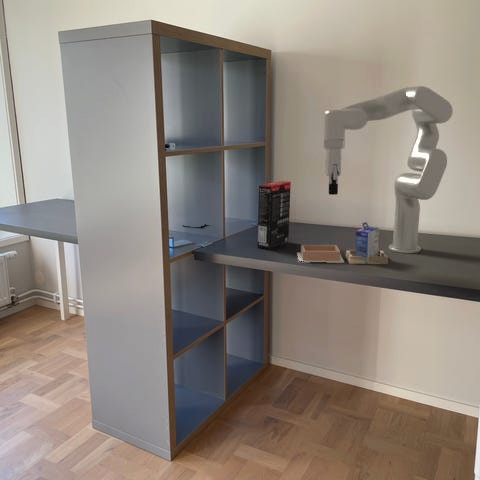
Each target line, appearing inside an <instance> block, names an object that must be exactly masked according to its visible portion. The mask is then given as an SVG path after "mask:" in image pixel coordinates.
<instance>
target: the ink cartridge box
mask: <svg viewBox="0 0 480 480" xmlns="http://www.w3.org/2000/svg"><path fill="white" fill-rule="evenodd" d="M361 224H362V226H363V227H362V228H360V229H357V230H355V250H356V255H355V256H362V257H365V263H366V264H367V263H369V262H368V260H369V257H370V256H378V250H379V234H380V233H379V231H380V229H379V227H376V226H375V227H374V226H369V225H368V222H367V221H365V222H363V223H361ZM367 265H368V264H367Z"/></svg>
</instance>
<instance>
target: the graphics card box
mask: <svg viewBox="0 0 480 480" xmlns="http://www.w3.org/2000/svg"><path fill="white" fill-rule="evenodd" d="M291 185H292V183H291V181H288V180H287V181H286V180H280V181H274V182H271V183H270V182H269V183H265V184H259V185H258V206H257V207H258V210H257V211H258V213H257V243H256V245H257V248H259V249H264V250H273V249H275V248H278V247H280V246H282V244H283V245H284V244H288V243H289V240H290V239H289V236H290V235H289V233H290V232H289V231H290V213H291V212H290V210H291V204H290V203H291V188H292V187H291ZM277 246H278V247H277Z"/></svg>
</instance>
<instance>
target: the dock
mask: <svg viewBox="0 0 480 480" xmlns="http://www.w3.org/2000/svg"><path fill="white" fill-rule="evenodd" d="M296 256H298V257H297V261H298V260H299V261H302V262H301V263H310V262H327V263H329V264H332V263H333V264H334V263H336V264H345V261H344V259H343V257H342V255H341V251H340V248H339V247H338V245H337V244H301V245H300V252H296ZM299 261H298V262H299ZM303 261H304V262H303Z"/></svg>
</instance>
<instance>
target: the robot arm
mask: <svg viewBox="0 0 480 480" xmlns="http://www.w3.org/2000/svg"><path fill="white" fill-rule="evenodd" d="M453 110H454V109H453V107H452V104H451V103H450V102H449V101H448V100H447V99H446V98H444V97H443V96H441V95H440V94H438V93H437V92H436V91H434V90H433V89H431V88H430V87H426V86H424V85H423V86H422V85H419V86H409V87H407V86H406V87H404V88H400V89H398V90H395V91H392V92H389V93H387V94H384V95H382V96H377V97H374V98H371V99H367V100H364V101H360V102H357V103H354V104H351V105H349V106H345V107H343V108H340V109H329V110H328V109H327V110H325V112H324V116H323V149H324V150H325V163H324V165H325V167H324V168H325V169H324V174H325V175H326V177H329V179H328V180H329V181H328V182H329V183H328V195H333V196H334V195H338V194H339V193H338V191H339V190H338V189H339V184H338V183H339V182H338V180H339V177H340V176H341V173H342V150H343V149H345V145H346V142H345V141H346V140H345V139H346V135H345V134H346V130H351V131H356V130H360V129H363V128H364V127H366V125H367V124H368V122H372V121H380V120H386V119H389V118H392V117H394V116H396V115H399V114H402V113H405V112H408V111H411V116H412V119H413V121H414V123H415V125H416V126H415V127H416V130H417V131H416V137H415V140H414V142H413V145H412V147H411V151H410V152H409V155H408V158H407V167H408V168H409V169H410V170H412V171H415V172H421V174H420V173H414V172H404V173H400V174H399V175H398V176H397V177H396V179H395V181H394V185H393V187H394V196H395V197H394V198H395V207H394V208H395V210H394V211H395V212H394V221H393V222H394V223H393V237H392V238H393V239H392V243H390V244H389V245H388V250H390V251H392V252H396V253H400V254H401V253H402V254H415V253H416V254H417V253H419V252H421V249H422V247H420V246H419V245H418V238H419V237H418V236H419V225H420V224H419V223H420V212H421V206H420V205H421V204H420V202H419V200H420V201H422V200H423V201H427V200H431V199H432V198H433V197H434V196H435V194H436V193H437V190H438V189H439V186H440V185H441V181H442V178H443V176H444V174H445V171H446V168H447V164H448V158H447V154H446V153H445V151H443V150H442V149H440V148H437V145H438V142H439V139H440V133H439V132H440V131H439V129H438V125H437V124H444V123H446V122H448V121H449V120H450V119H451V118H452V116H453Z"/></svg>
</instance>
